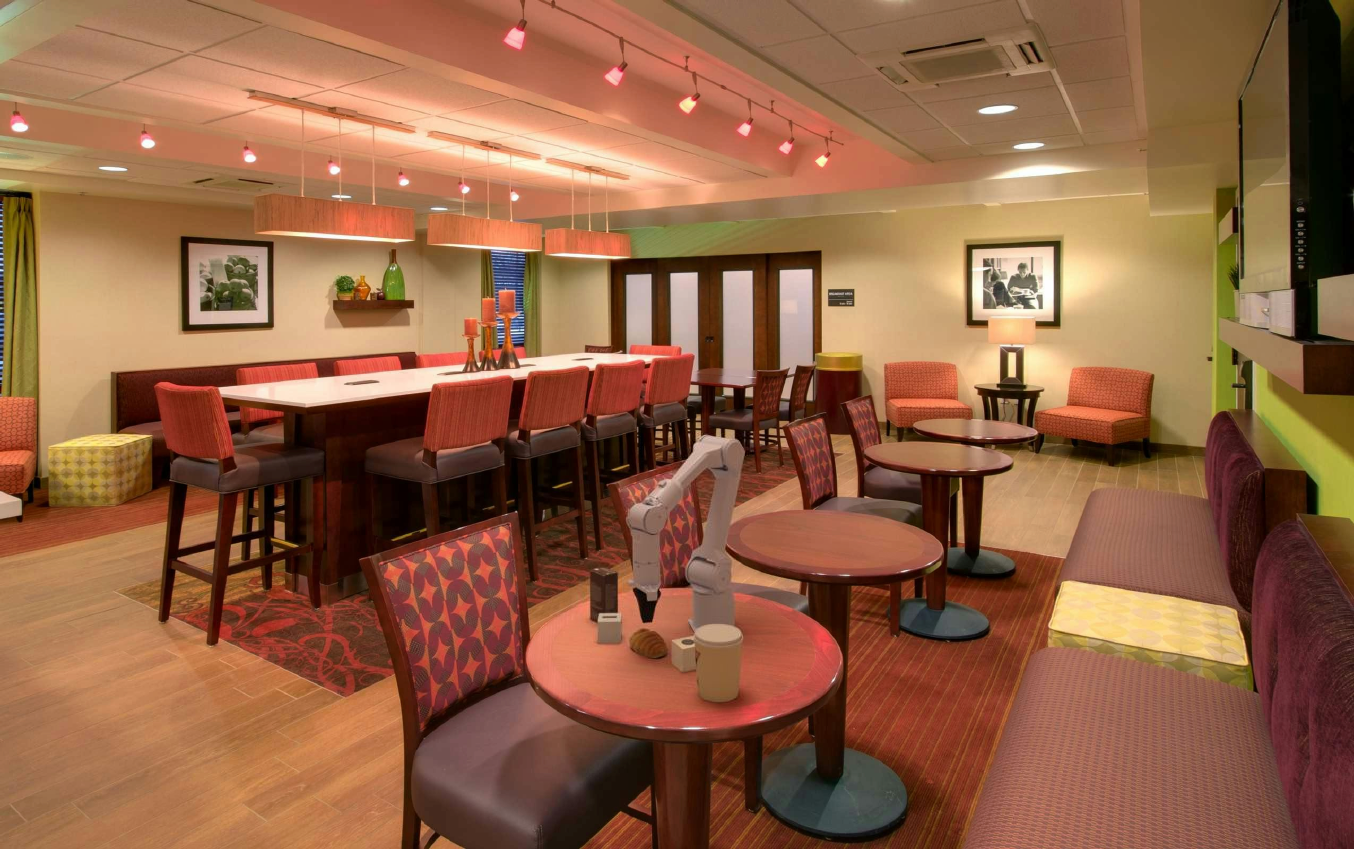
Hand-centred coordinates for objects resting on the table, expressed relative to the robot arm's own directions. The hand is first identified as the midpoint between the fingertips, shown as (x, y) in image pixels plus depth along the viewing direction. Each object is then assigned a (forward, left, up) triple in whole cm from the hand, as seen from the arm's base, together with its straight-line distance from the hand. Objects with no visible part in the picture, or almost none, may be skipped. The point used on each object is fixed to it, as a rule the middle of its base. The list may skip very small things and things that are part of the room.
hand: (647, 621), depth 170 cm
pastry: (-1, 0, -7) cm, 7 cm away
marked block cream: (-7, +9, -7) cm, 13 cm away
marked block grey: (+7, -8, -7) cm, 13 cm away
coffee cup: (-10, +22, -7) cm, 25 cm away
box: (+7, -19, -7) cm, 21 cm away
